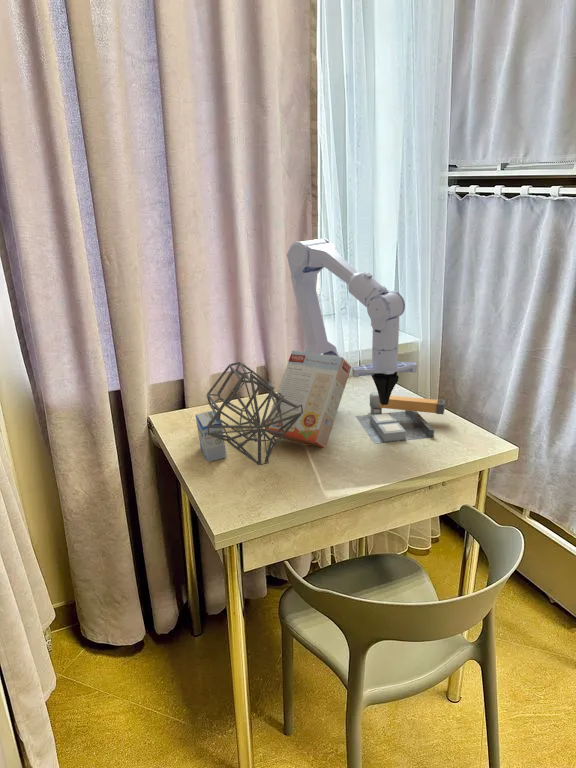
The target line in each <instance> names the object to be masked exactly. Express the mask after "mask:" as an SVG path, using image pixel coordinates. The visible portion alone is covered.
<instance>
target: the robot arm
mask: <svg viewBox="0 0 576 768" xmlns="http://www.w3.org/2000/svg"><path fill="white" fill-rule="evenodd" d="M336 249H337V248H336V245H335V244H334V243H332V242H330V240H328V239H327V238H325V237H321V238H317V239H311V240H304V241H299V240H298V241H297V240H296V241H294V242H292V244H291V245H290V247H289V249H288V251H287V252H286V257H287V262H288V267H289V271H290V279H291V282H292V283H291V284H292V288H293V292H294V297H295V300H296V305H297V309H298V313H299V318H300V322H301V327H302V331H303V336H304V340H305V344H306V345H305V348H304V349H303V351H302V352H307V353H315V354H322V355H330V356H337V357H341V356H340V355H339V353H338V351H337V347H336V345H334V344H333V343H331V342H330V341H328V337H327V333H326V328H325V327H326V326H325V323H324V319H323V316H322V309H321V306H320V302H319V297H318V293H317V292H318V291H317V287H316V285H315V284H316V283H315V279H316V277H317V276H318V274H319V273H320V272H321V271H322V270H323V269H324V268H325V269H327V270H328V271H330V272H331V273H332V274H334V275H335V276H336V277H338V278H339V279H340V280H341V281H342V282H344V283H345V284H346V285H347V289H348V293H350V295H352V296H353V297H354V298H355V299H357V301H358V302H360V303H361V304H362V305H363V306H364V307H365V308H366V310H367V315H368V317H369V319H370V323H371V325H370V326H371V327H372V341H371V342H372V347H371V349H372V351H371V352H372V353H371V363H368V364H363V365H358V366H352V376H353V377H354V379H355V378H360V377H367V376H369V377H371V378H372V380H373V383H374V385H375V387H376V390H377V391H376V392H378V394H379V400H380V403H381V404H382V405H388V402H389V398H390V396H392V392H393V390H394V388H395V386H396V385H397V383H398V382H399V376H400V375H398V374H402V373H413V374H415V373H416V374H417V373H418V370H417V369H418V364H417V363H416V362H415V361H409V362H407V361H406V362H405V361H398V360H399V337H400V317H401V316H402V315H403V314H404V313H405V310H406V303H405V302H406V301H405V299H404V296H402V294H400V292H399V291H395V290H392V291H391V290H389V289H388V288H387V287H385V286H383V285H381V283H379V282H378V281H377V280H376V279H375V278H373V274H371V273H370V272H365V271H362V272H358V271H357V270H356V269H355V268H354V267H353V266H352V265H351V264H350V263H349V262H348V261H347V260H346V259H344V257H342V255H341V254H340V252H339V253H338V251H337V250H336Z"/></svg>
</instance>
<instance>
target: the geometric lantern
mask: <svg viewBox="0 0 576 768" xmlns="http://www.w3.org/2000/svg"><path fill="white" fill-rule="evenodd" d="M233 366H237V367H236V368H234V367H233ZM239 367H241V369H242V371H243V372H241V371H239V370H238V369H239ZM229 369H230V372H229V373H228V375H227V377H226V379H224V381H223V384H222V385H221V386H220V388H219V390H218V391H217V393H212V392H213V391H214V389H215V388H216V386H217V385H218V383H220V381H221V380H222V379H223V377H224V375H226V373H227V372H228V371H229ZM233 374H235V376H236V377H237V378H238V381H237V382H236V384H235V385H234V387H233V388H232V389H230V393H229V394H228V395H227V396H226V398H225V399H224V398H223V397H221V394H222V393H223V390H224V389H225V387H226V386H227V384H228V382H229V380H230V378H231V377H232V375H233ZM248 384H250V385H251V391H252V395H251V393H250V391H249V387H248ZM244 385H245V388H246V392H247V395H248V399H249V400H248V401H247V402H246V404H245V403H244V402H243V400H242V399H241V398H240V396H239V394H237V392H238V391H240V389H241V388H243V386H244ZM255 385H256V389H255ZM274 389H275V387H274V386H272V385H271V384H270V382H269V381H267V380H266V379H264V377H262V376H261V375H259V374H258V373H257V372H255V371H254V370H252V369H251V368H249V366H247V365H246V364H245V363H243V362H241V361H237V362H233V363H229V364H228V365H227V366H226V368H225V369H224V371H223V372H222V373H221V375H219V377H218V379H217V380H216V382H215V383H214V384H213V385H212V386H211V388H210V389H209V391H208V392H207V393H206V398H207V402H208V405H209V407H210V408H211V411H214V413H215V415H214V416H213V418H212V419H211V421H210V422H209V424H208V425H207V429H208V434H209V435H210V436H213V437H216V438H218V439H221V440H224V442H227V443H228V444H229V445H230V446H231V447H233V448H234V449H235V450H237V451H238V452H239V453H240V454H242V455H244V456H245V457H246V458H248V459H249V460H250V461H252V462H253V463H255V464H256V465H257V466H263V465H268V464H270V462H269V459H270V456H271V454H272V452H273V449H274V448H275V447H277V445H279V443H280V442H281V440H284V439H283V436H281V437H280V438H278V439H277V440H276V436H277V434H279V435H286V433H287V431H288V430H289V429H290V428H291V427H292V425H293V424H294V423H295V422H296V421H297V419H298V418H299V417H300V416H301V414H303V408H302V404H301V405H299V406H297V405H295V404H293V403H292V402H290V401H288V400H286V399H284V396H283V395H282V394H281V393H278V394H279V395H280V396H282V397H283V398H282V397H280V396H278V394H277V393H276V392H275V390H274ZM259 390H261V391H264V392H266V393H267V394H268V395H267V396H266V397H265V399H264V400H263V402H262V403H261V404H260V405H259V406H258V399H257V393H258V391H259ZM212 396H214V397H215V396H217V397H218V398H217V399H215V400H214V398H213V397H212ZM235 398H236V399H237V401H238V402H239V403H240V405H241V406H242V408H240V407H239V406H237V405H236V404H234V403H232V402H231V401H232V400H233V399H235ZM275 398H276V401H277V403H276V402H274V401H275ZM271 400H272V402H273V403H274V405H275V407H274V409H273V410H272V411H271V410H270V412H271V413H270V412H269V414H268V416H267V413H268V410H269V407H270V404H271ZM218 401H221V402H222V404H221V405H220V407H219V406H218V404H217V402H218ZM281 402H284V403H286V404H288V405H291V406H293V407H295V408H293V409H291V410H289V411H286V412H284V413H282V414H281V408H280V405H281ZM253 404H254V405H253ZM265 404H266V405H265ZM264 405H265V409H264V411H263V415H262V419H261V418H260V410H261V409H262V407H264ZM250 406H251V410H252V413H253V414H252V413H251V411H250V410H249V407H250ZM300 406H301V411H302V412H301V413H298V414H295V415H292V416H289V417H286V418H283V419H282V415H284V414H286V413H288V412H290V411H292V410H294V409H296V408H299V407H300ZM225 407H226V408H228V409H229V410H231V411H232V412H234V413H235V414H237V416H240V418H239V422H238V421H237V420H235V419H234V418H232V417H231V416H229V415H228V414H227V413H225V412H224V411H222V410H223V409H224V408H225ZM276 409H277V411H278V412H277V414H276V415H275V417H274V418H272V419H270V417H271V416H272V415H273V413H274V412H275V411H276ZM243 412H245V415H244V414H243ZM221 414H222V415H223V416H224V417H225V418H227V419H229V420H230V421H232V422H233V423H234V424H235V425H232V424H228V423H227V422H225V421H224V420H223V419H221ZM278 414H279V415H278ZM277 415H278V416H277ZM279 416H280V420H277V421H274V419H275V418H277V417H279ZM216 418H217V419H218V420H219V422H220V423H221V425H212V423H213V422H214V420H215V419H216ZM292 418H293V419H292ZM243 419H244V420H246V421H245V422H242V420H243ZM269 419H270V420H269ZM289 419H292V420H290V421H289V422H287V423H286V424H285V425H283V421H286V420H289ZM271 420H272V421H271ZM269 421H271V422H270V423H268V424H266V423H267V422H269ZM273 421H274V422H273ZM276 423H280V424H281V428H279V429H278V431H273V430H268V427H269V426H270V425H273V424H276ZM290 423H291V424H290ZM223 424H224V425H223ZM289 424H290V425H289ZM288 425H289V426H288ZM286 426H288V427H287V429H286V430H285V431H284V430H283V429H284V428H285V427H286ZM265 427H266V429H265ZM209 428H223V432H217V433H210V432H209ZM226 429H231V430H229V431H227V430H226ZM237 429H240V430H237ZM281 430H282V432H283V433H282V432H280V431H281ZM268 432H269V433H268ZM222 433H223V435H222ZM232 433H236V434H237V435H235V436H230V435H229V434H232ZM267 433H268V434H270V433H274V435H272V436H271V437H270V435H268V434H267ZM249 435H250V436H249ZM223 437H224V438H223ZM242 437H243V438H245V440H243V441H241V442H238V441H237V440H236V439H238V438H242ZM262 437H263V439H262ZM250 441H252V442H254V443H257V459H256V458H255V457H254V456H253V455H252V454H250V452H249V451H247V449H245V447H244V446H245V445H246V444H247V443H248V442H250ZM262 442H264V449H265V458H264V462H262ZM267 442H269V444H268V447H267Z"/></svg>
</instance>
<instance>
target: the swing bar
mask: <svg viewBox="0 0 576 768" xmlns="http://www.w3.org/2000/svg"><path fill="white" fill-rule="evenodd" d="M369 406H370V408H371V407H372V408H382V409H389V410H391V409H392V410H398V411H405V410H408V411H417V412H418V413H419V412H421V413H429V414H430V413H432V414H436V415H444V414H445V409H446V408H445V407H446V399H433V398H431V399H430V398H420V397H408V396H399V395H398V396H397V395H390V398H389V402H388V405H382V404H381V403H380V400H379V394H378V391H373V392H370V393H369Z"/></svg>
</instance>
